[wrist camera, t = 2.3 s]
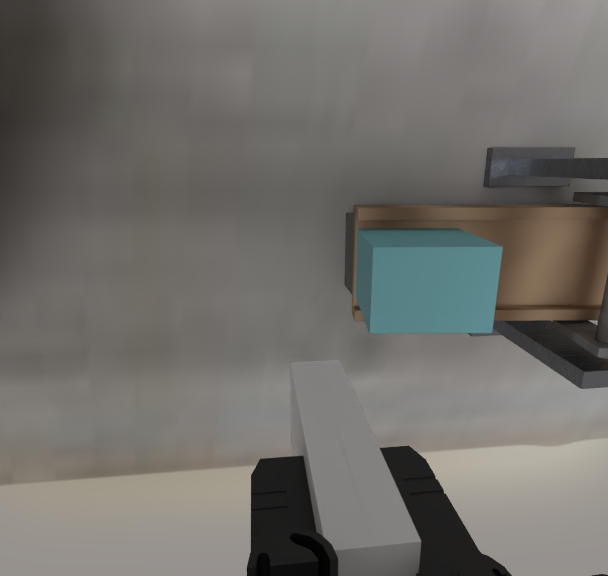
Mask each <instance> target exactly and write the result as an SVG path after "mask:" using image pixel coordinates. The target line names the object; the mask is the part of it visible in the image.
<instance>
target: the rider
mask: <svg viewBox="0 0 608 576" xmlns="http://www.w3.org/2000/svg"><path fill="white" fill-rule="evenodd" d="M502 250H503V247H502V246H500V245H497V244H495V243H493V242H490V241H488V240H485V239H483V238H481V237H478V236H476V235H474V234H471V233H469V232H466V231H464V230H462V229H459V228H369V229H358V236H357V269H356V299H357V302H358V304H359V307H360V310H361V312H362V315H363V317H364V320H365V322H366V325H367V328H368V330H369V333H370V334H378V333H492V330H493V322H494V314H495V306H496V298H497V290H498V282H499V274H500V266H501V258H502Z"/></svg>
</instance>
